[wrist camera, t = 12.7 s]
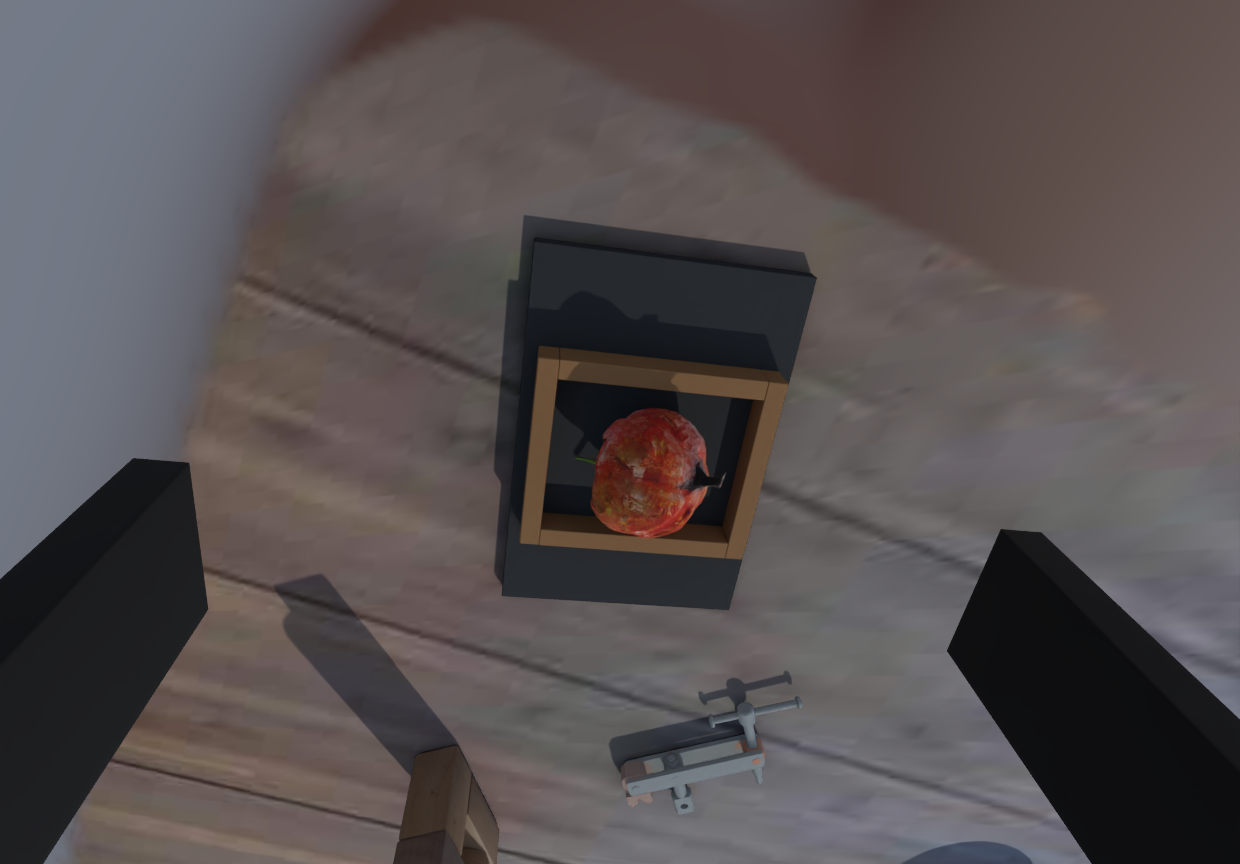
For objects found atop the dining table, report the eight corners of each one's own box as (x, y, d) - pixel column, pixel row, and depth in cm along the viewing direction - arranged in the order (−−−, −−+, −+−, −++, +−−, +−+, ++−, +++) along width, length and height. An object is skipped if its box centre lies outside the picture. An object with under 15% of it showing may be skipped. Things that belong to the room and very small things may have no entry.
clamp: (637, 831, 59) (610, 750, 55) (634, 807, 61) (608, 726, 57) (817, 791, 59) (804, 706, 54) (808, 768, 61) (795, 684, 56)
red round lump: (606, 490, 48) (744, 529, 43) (537, 532, 43) (687, 583, 38) (608, 383, 46) (754, 412, 41) (535, 412, 40) (695, 451, 35)
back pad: (534, 237, 39) (532, 249, 37) (811, 273, 42) (829, 286, 39) (502, 587, 50) (499, 616, 47) (726, 601, 52) (735, 629, 49)
